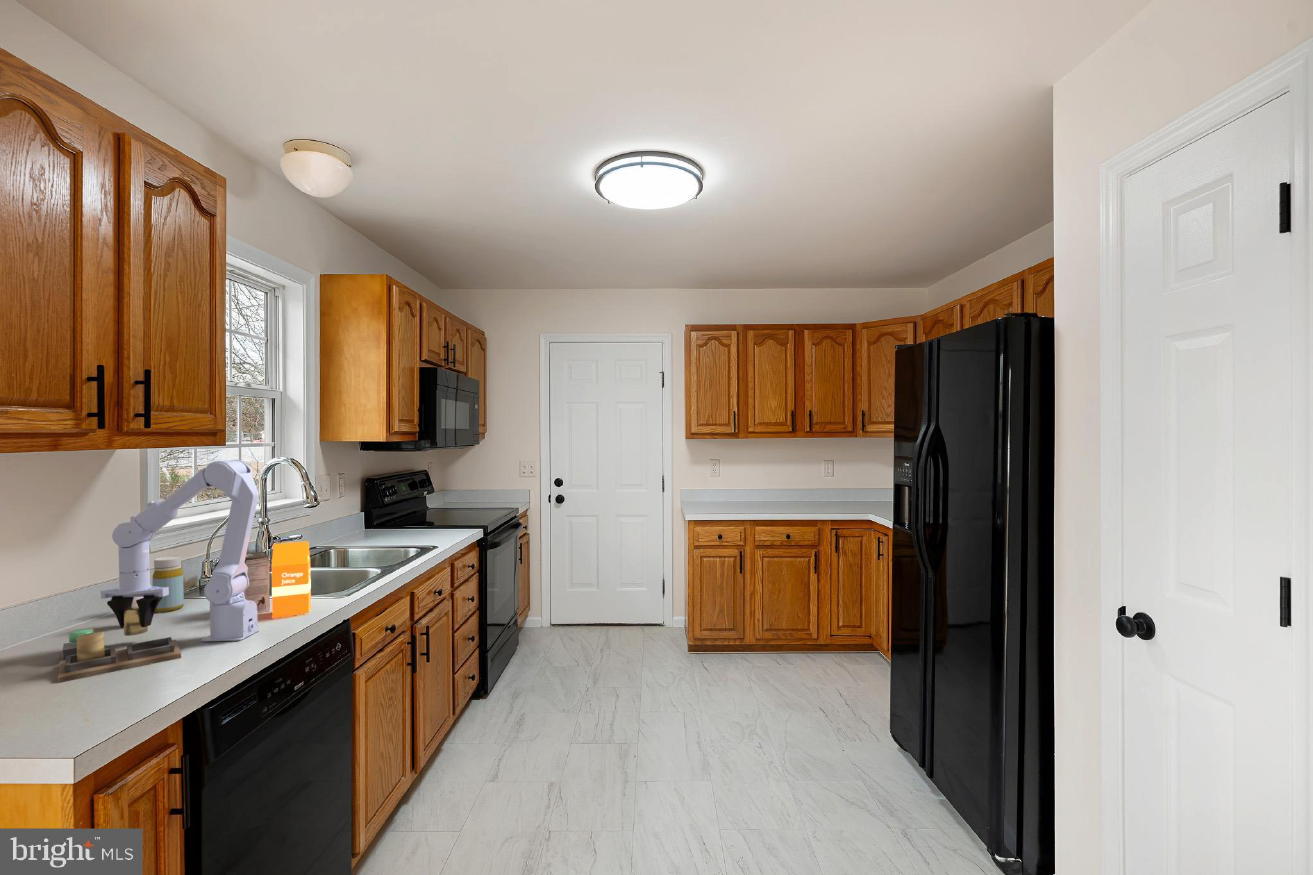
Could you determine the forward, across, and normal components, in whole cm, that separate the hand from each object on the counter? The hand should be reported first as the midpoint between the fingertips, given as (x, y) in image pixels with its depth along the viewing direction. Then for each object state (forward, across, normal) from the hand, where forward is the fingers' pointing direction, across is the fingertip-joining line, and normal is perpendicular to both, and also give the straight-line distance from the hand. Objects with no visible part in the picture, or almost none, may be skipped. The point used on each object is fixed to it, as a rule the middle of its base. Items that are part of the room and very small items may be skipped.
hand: (135, 626), depth 150 cm
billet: (+2, 0, 0) cm, 2 cm away
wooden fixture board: (+4, -7, +13) cm, 15 cm away
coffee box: (+4, -12, -27) cm, 30 cm away
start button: (0, +5, +9) cm, 10 cm away
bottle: (+4, +14, -30) cm, 33 cm away
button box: (+4, +5, +9) cm, 11 cm away
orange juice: (+4, -25, -23) cm, 34 cm away
